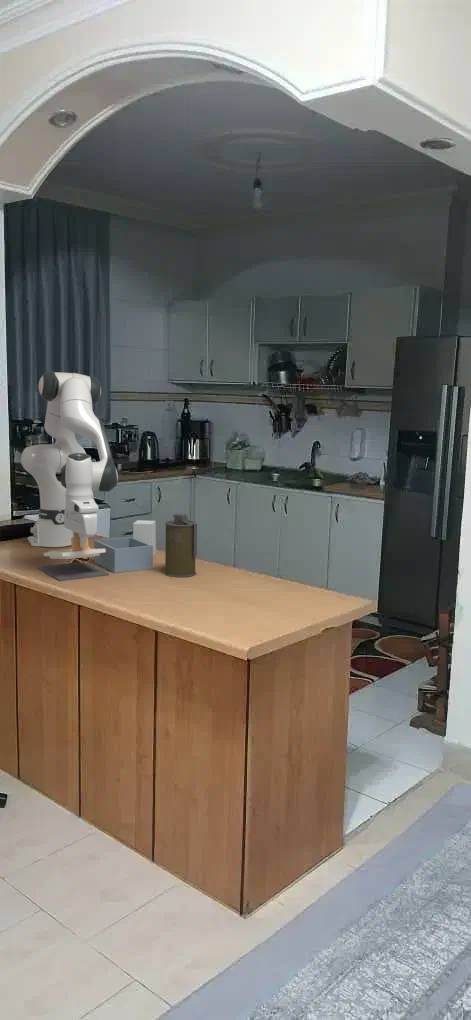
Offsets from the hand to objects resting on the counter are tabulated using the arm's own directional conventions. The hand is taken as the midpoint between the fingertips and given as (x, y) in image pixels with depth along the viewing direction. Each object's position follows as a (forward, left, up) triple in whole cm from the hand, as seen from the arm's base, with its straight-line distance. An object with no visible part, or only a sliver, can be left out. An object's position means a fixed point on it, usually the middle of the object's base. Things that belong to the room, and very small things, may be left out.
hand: (79, 546), depth 257 cm
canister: (+13, +30, -10) cm, 35 cm away
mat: (-6, 0, -10) cm, 12 cm away
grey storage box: (-7, +18, -10) cm, 22 cm away
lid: (-5, 0, -4) cm, 6 cm away
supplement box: (-19, +32, -10) cm, 39 cm away
